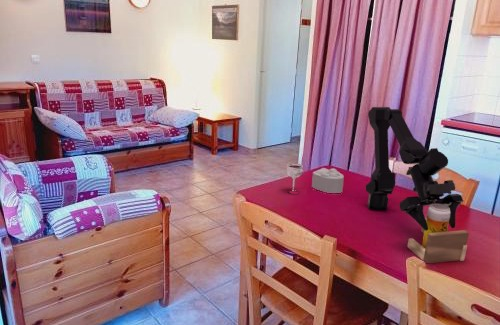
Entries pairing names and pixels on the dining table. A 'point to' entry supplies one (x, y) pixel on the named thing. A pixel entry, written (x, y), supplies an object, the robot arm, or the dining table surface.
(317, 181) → the grey lumpy block
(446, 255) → the shelf
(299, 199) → the dining table surface
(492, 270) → the dining table surface
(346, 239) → the dining table surface
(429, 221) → the beer can
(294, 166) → the wineglass
